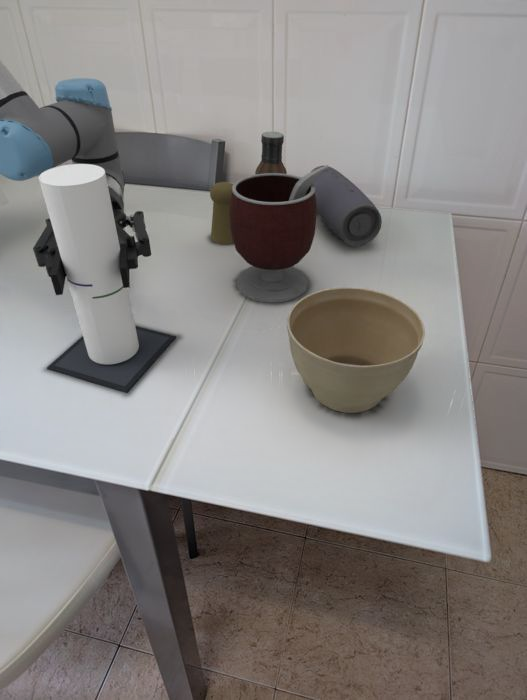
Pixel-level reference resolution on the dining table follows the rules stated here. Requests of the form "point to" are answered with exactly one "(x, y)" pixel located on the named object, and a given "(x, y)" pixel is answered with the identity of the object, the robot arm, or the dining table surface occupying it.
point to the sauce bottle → (271, 154)
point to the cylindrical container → (91, 259)
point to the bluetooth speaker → (346, 208)
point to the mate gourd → (273, 232)
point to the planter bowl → (353, 345)
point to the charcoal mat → (117, 374)
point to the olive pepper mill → (221, 213)
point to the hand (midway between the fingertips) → (90, 281)
